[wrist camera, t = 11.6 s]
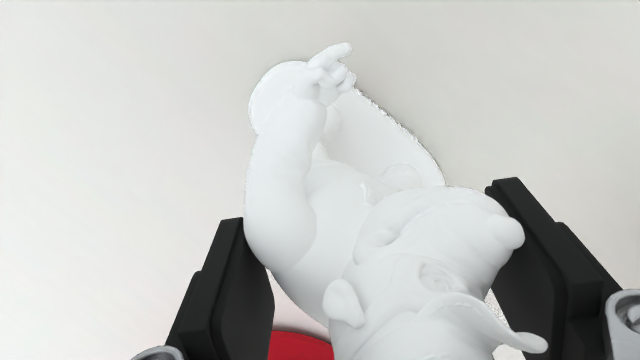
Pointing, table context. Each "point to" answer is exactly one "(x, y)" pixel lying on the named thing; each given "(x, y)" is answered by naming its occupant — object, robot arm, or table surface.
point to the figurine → (371, 223)
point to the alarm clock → (298, 347)
